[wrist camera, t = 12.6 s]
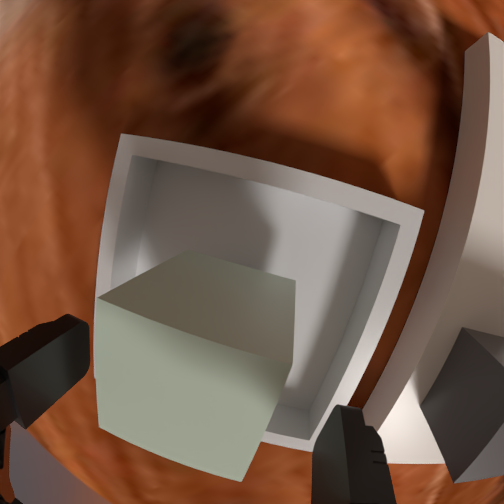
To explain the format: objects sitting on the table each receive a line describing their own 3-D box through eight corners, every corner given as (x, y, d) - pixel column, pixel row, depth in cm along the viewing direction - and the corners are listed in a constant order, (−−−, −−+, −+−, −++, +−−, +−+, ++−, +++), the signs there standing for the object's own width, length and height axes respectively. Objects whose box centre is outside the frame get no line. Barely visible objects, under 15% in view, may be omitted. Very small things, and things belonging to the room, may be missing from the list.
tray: (151, 142, 17) (121, 133, 14) (400, 207, 16) (424, 210, 12) (119, 354, 20) (94, 377, 17) (317, 417, 19) (318, 452, 16)
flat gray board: (464, 51, 13) (492, 28, 9) (548, 109, 12) (579, 100, 8) (351, 427, 19) (357, 467, 15) (442, 435, 18) (456, 467, 14)
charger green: (203, 241, 17) (96, 297, 7) (296, 268, 17) (292, 364, 7) (185, 324, 18) (99, 426, 9) (269, 351, 18) (241, 481, 8)
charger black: (444, 310, 15) (525, 389, 7) (498, 325, 15) (574, 390, 6) (408, 384, 17) (453, 483, 8) (464, 391, 16) (516, 471, 7)
